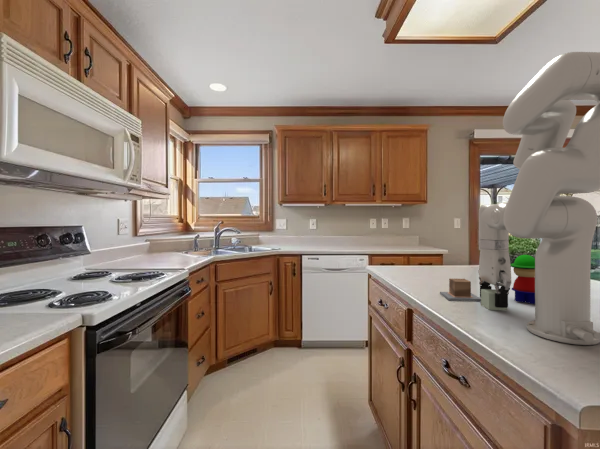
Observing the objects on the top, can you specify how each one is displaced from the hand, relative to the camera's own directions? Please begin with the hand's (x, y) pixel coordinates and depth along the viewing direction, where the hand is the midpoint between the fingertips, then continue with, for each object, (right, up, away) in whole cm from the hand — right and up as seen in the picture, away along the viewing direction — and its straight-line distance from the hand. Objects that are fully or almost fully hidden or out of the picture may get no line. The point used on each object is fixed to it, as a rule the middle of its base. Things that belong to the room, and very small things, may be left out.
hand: (493, 302), depth 90 cm
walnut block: (-4, 0, +11) cm, 12 cm away
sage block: (0, -2, 0) cm, 2 cm away
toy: (+14, -1, +6) cm, 16 cm away
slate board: (-4, -1, +11) cm, 12 cm away
